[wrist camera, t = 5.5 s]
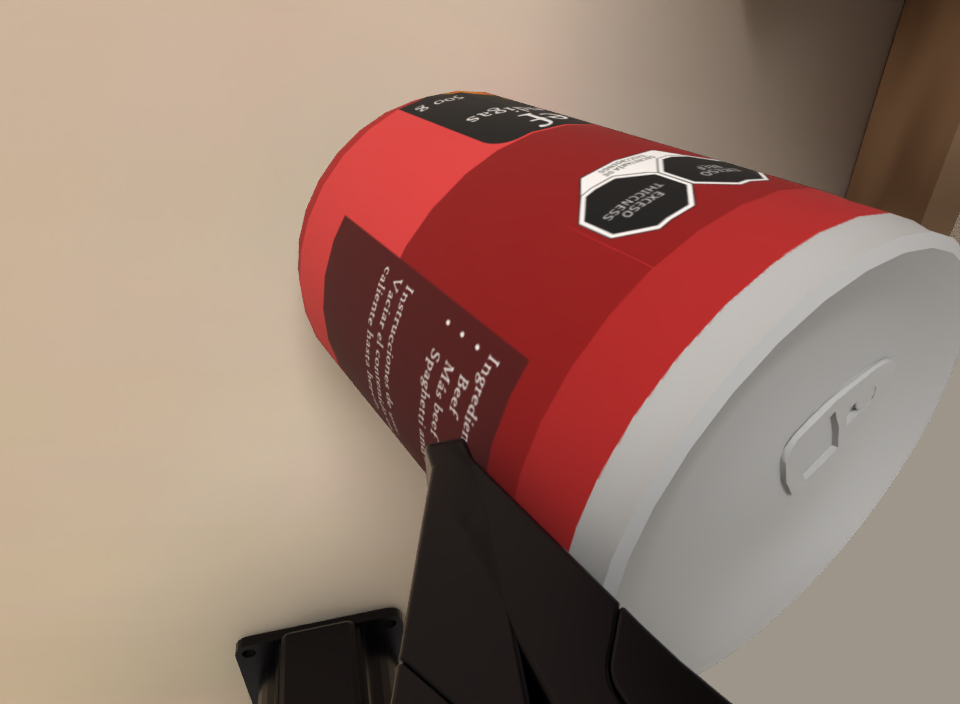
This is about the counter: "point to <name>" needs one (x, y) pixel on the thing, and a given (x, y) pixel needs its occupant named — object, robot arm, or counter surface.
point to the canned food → (634, 345)
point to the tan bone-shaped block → (916, 122)
